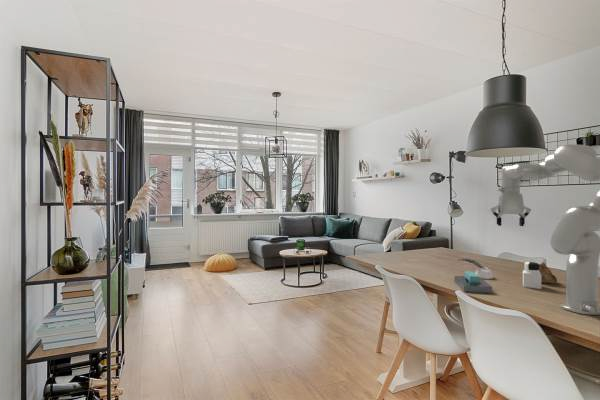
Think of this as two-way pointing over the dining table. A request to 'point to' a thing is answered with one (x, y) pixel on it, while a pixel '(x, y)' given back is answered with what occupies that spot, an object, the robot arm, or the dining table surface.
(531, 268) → the medicine bottle
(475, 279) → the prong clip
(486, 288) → the slot rail
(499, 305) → the dining table surface
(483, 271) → the inkwell
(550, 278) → the decorative rock
